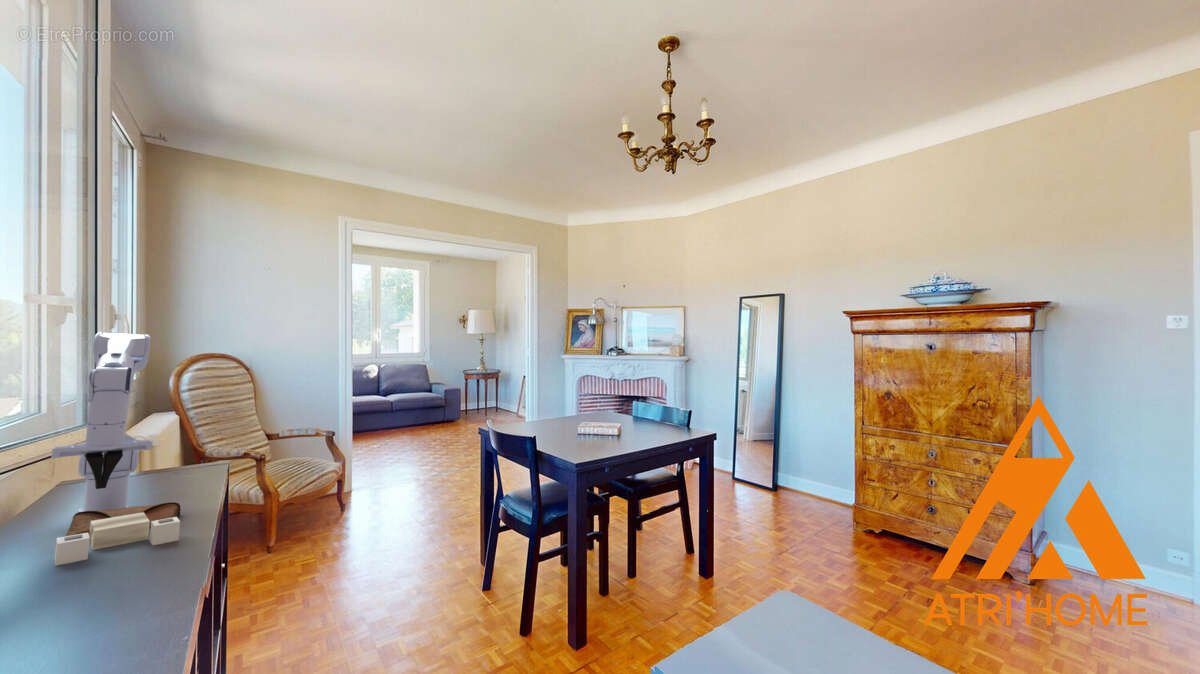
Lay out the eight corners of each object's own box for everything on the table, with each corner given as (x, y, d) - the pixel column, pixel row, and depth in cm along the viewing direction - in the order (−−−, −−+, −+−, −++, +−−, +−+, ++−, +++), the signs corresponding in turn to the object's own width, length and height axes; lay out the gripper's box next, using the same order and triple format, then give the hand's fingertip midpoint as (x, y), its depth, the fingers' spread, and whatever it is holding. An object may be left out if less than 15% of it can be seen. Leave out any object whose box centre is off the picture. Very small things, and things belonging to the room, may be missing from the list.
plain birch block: (88, 540, 97) (90, 520, 97) (142, 530, 103) (143, 512, 103) (92, 551, 92) (94, 530, 92) (148, 540, 98) (149, 521, 98)
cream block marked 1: (54, 559, 87) (56, 536, 87) (86, 553, 90) (88, 531, 90) (55, 566, 85) (57, 542, 85) (87, 559, 88) (89, 537, 88)
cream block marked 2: (149, 540, 97) (151, 520, 98) (174, 535, 100) (176, 515, 101) (152, 545, 95) (154, 525, 95) (178, 540, 98) (180, 520, 98)
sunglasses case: (59, 540, 95) (67, 507, 98) (66, 547, 100) (73, 516, 103) (176, 524, 106) (180, 495, 109) (178, 532, 111) (181, 504, 114)
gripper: (56, 428, 91) (48, 498, 90) (157, 422, 102) (151, 485, 101) (53, 424, 95) (46, 491, 94) (151, 419, 106) (145, 478, 106)
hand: (100, 487), depth 98 cm, fingers closed
